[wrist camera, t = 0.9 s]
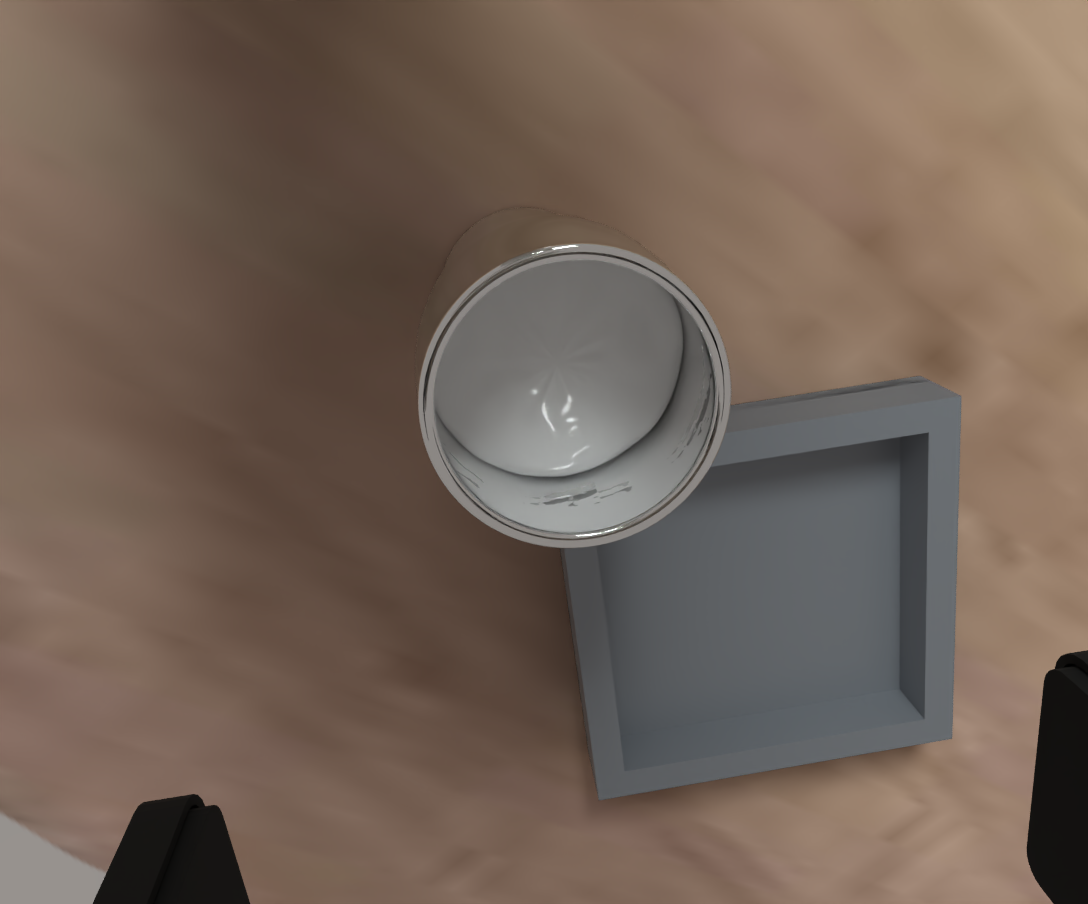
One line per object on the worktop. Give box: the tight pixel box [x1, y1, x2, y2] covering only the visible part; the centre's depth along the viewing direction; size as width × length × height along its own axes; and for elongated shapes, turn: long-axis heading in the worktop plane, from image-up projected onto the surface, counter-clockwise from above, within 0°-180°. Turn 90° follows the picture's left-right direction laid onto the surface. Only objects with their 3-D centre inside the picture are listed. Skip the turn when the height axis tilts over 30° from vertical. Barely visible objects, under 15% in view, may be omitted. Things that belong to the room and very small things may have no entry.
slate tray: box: [560, 376, 961, 800], centre depth 36 cm, size 15×15×3 cm
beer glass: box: [415, 207, 731, 548], centre depth 25 cm, size 7×7×15 cm
